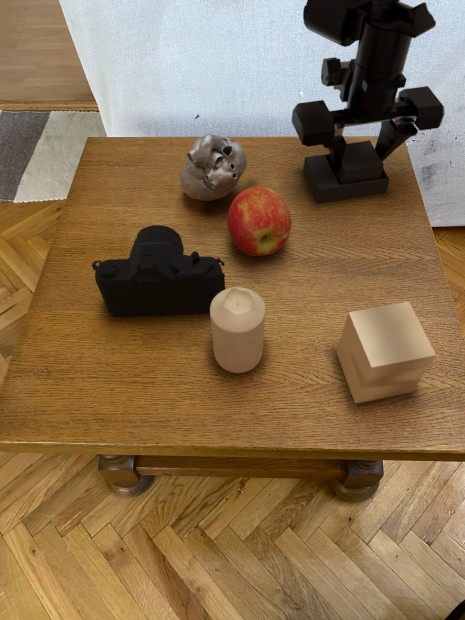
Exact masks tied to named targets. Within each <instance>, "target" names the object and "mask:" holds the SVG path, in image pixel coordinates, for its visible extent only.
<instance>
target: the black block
mask: <svg viewBox="0 0 465 620" xmlns="http://www.w3.org/2000/svg"><path fill="white" fill-rule="evenodd" d="M330 161H331V158H330ZM383 162H384V161H383ZM383 162H382V161H381V159H380V157H379V155H378V154H377V152H376V150H375V146H374V145H373V144H372V142H371V140H370V139H369V140H363V141H356V142H350V143H347V145H346V149H345V152H344V156H343V160H342V163H341V167H340V169H339V171H338V173H336V176H337V177H338V180H339V182H340V183H341V184H340V185H345V184H352V183H359V182H365V181H372V180H377V179H380V177H381V174H382V170H383V169H384V167H385V164H384V163H383Z"/></svg>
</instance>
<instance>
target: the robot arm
mask: <svg viewBox="0 0 465 620" xmlns="http://www.w3.org/2000/svg"><path fill="white" fill-rule="evenodd" d="M302 11H303V12H302V20H303V25H304V26H305V29H307V30H308V31H310V32H312V33H314V34H316V35H318V36H321V37H323V38H324V39H326V40H328V41H331V42H333V43H335V44H336V45H338V46H341V47H344V48H347V47H350V46H352V45H353V44H354V43H355V42H358V43H357V48H356V54H355V58H350V60H347V61H342V60H341V58H338V57H337V56H334V57H325V58H323V59H322V64H321V70H320V81H321V84H322V85H323V86H324V87H328V88H329V87H332V88H333V90H338V91H339V99H340V101H341V103H346V106H345V107H344V108H341V109H335V110H330V109H329V107H328V106H327V104H326V101H325V100H324V99H321V100H312V101H305V102H298V103H297V104H296V105H295V106H294V108H293V109H292V114H291V124H292V127H293V128H294V130H295V132H296V135H297V136H298V139H299V141H300V143H301V145H302V146H305V147H307V148H308V147H314V146H322V147H323V148H325V149H328V152H329V153H328V154H330V158H331V163H332V168H331V169H332V171H333V173H334V175H337V173H338V171H339V169H340V167H341V163H342V160H343V156H344V152H345V149H346V145H347V144H348V142H347V141H346V139H345V137H344V135H343V134H344V130H345V128H347V127H355V126H362V125H369V124H375V123H380V129H379V133H378V137H377V140H376V143H375V146H374V149H375V150H376V152H377V154H378V155H379V157H380V159H381V161H382V162H384V161H385V160H386V159H387V158H388V157H389V156H390V155H392V153H394V151H396V150H397V149H398V148H400V146H402V145H403V144H404V143H405V142H406V141H408V140H409V139H410V138H411V137H416V136H417V135H418V132H419V131H420V132H421V131H428V130H435V129H439V128H440V127H441V125H442V122H443V120H444V117H445V113H446V112H445V111H446V110H445V106H444V104H442V102H441V100H439V98H438V97H437V96H436V95H435V93H434V92H433V90H432V89H431V88H430V87H429V86H428V85H425V86H417V87H410V88H405V87H406V83H407V81H408V79H407V77H406V76H405V75H404V74H403V73H404V69H405V65H406V61H407V58H408V54H409V50H410V47H411V43H412V41H413V40H412V39H417V38H418V37H420V36H421V35H423V34H425V33H427V32H429V31H430V30H432V29H434V28H435V27H436V25H437V22H436V20H435V18H434V16H433V14H431V12H430V10H429V8H428V4H427V2H424V1H423V2H421V3H419V4H417V5H415V6H412V5H409V4H407V3H404V2H402V1H401V0H307V1H306V3H305V5H304V7H303V10H302ZM399 89H402V90H400V91H399ZM398 91H399V92H398ZM397 95H398V96H397Z"/></svg>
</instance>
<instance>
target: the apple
mask: <svg viewBox="0 0 465 620" xmlns="http://www.w3.org/2000/svg"><path fill="white" fill-rule="evenodd" d="M226 223H227V230H228V234H229V235H230V238H231V240H232V242H233V243H234V245H235V246H236V247H237V248H238V249H239V251H241V252H243V253H244V254H246V255H249V256H251V257H258V256H259V257H261V256H266V255H270V254H273V253H275V252H278V251H279V250H280V249H281V248H282V247H283V246H284V245H285V244H286V242H287V241H288V238H289V236H290V234H291V232H292V231H291V230H292V223H293V221H292V215H291V212H290V209H289V207H288V204H287V203H286V201H285V200H284V198H283V197H282V196H281V195H280V194H279V193H277V192H276V191H275V190H273V189H271V188H269V187H264V186H251V187H249V188H246V189H244V190H242V191H241V192H239V194H237V195H236V196H235V198H234V199H233V201H232V203H231V204H230V206H229V209H228V213H227V218H226Z"/></svg>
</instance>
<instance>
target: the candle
mask: <svg viewBox="0 0 465 620" xmlns="http://www.w3.org/2000/svg"><path fill="white" fill-rule="evenodd" d="M209 314H210V315H209V317H210V326H211V327H210V328H211V337H212V348H213V354H214V358H215V361H216V362H217V364H218V365H219V366H220V367H221V368H222V369H224V371H227V372H229V373H234V374H242V373H246V372H249V371H251V370H253V369H254V368H256V367H257V365H258V364H259V363H260V361H261V359H262V358H263V357H262V356H263V349H264V337H265V323H266V304H265V302H264V299H263V297H261V296H260V295H259V294H258V293H257V292H256V291H255V290H252V289H250V288H247V287H243V286H233V287H228V288H225V290H223V291H221V292H220V293H219V294H217V295H216V296H215V298H214V299H213V300H212V303H211V306H210V313H209Z"/></svg>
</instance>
